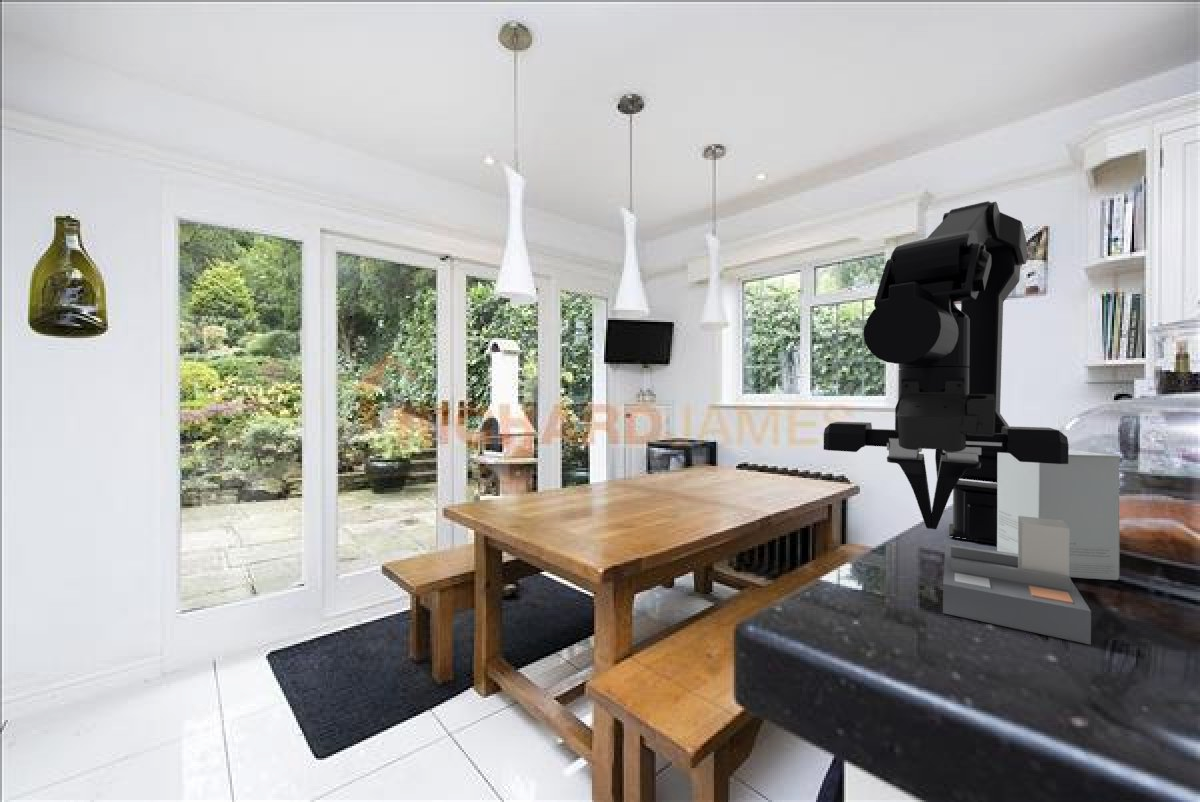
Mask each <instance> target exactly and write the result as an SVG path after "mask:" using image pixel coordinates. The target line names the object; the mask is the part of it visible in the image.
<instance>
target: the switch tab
mask: <svg viewBox="0 0 1200 802" xmlns="http://www.w3.org/2000/svg"><path fill="white" fill-rule="evenodd" d="M1069 536H1070V529H1069V527H1068V526H1067V525H1066V524H1065V523H1064V522H1063V521H1061V520H1052V519H1043V518H1034V517H1025V516H1018V568H1021V569H1027V570H1034V571H1040V572H1046V573H1053V574H1059V575H1065V576H1069Z"/></svg>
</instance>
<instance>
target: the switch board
mask: <svg viewBox="0 0 1200 802" xmlns="http://www.w3.org/2000/svg"><path fill="white" fill-rule="evenodd" d="M943 565H944V566H943V580H942V581H943V582H942V583H943V584H942V589H943V590H942V614H946V615H950V616H955V617H960V618H964V619H969V620H974V621H979V622H983V623H989V624H992V625H997V626H1000V627H1001V626H1002V627H1006V628H1007V627H1008V628H1011V629H1015V630H1020V631H1025V632H1030V633H1034V634H1040V635H1044V636H1048V637H1053V638H1058V639H1063V640H1066V641H1072V642H1076V643H1081V644H1082V643H1083V644H1086V645H1090V646H1091V645H1092V610H1091V609H1090V607H1089V605H1088V604H1087V602H1086V601H1085V599H1084V598H1083V596H1082V594H1081V593H1080V591H1079V590H1078V588H1077V587H1076V586H1075V584H1074V583H1073V580H1072V579H1071V578H1072V577H1069V576H1065V575H1059V574H1053V573H1046V572H1040V571H1034V570H1027V569H1021V568H1018V554H1014V553H1008V552H1001V551H997V550H993V549H986V548H979V547H972V546H971V547H970V546H965V545H959V544H958V545H957V544H952V543H945V545H944V564H943Z"/></svg>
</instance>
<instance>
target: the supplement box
mask: <svg viewBox="0 0 1200 802" xmlns="http://www.w3.org/2000/svg"><path fill="white" fill-rule="evenodd" d="M996 484H997V544H996V551H1001V552H1008V553H1014V554H1018V516H1025V517H1034V518H1043V519H1052V520H1061V521H1063V522H1064V523H1065V524H1066V525H1067V526H1068V527H1069V529H1070V536H1069V577H1070V578H1077V579H1096V580H1107V581H1108V580H1109V581H1110V580H1111V581H1118V580H1119V579H1120V456H1119V455H1116V454H1108V453H1099V452H1092V451H1086V450H1078V449H1070V448H1068V464H1050V463H1033V462H1020V461H1018V460H1017V459H1016V458H1015V457H1014V456H1012V455H1011V454H1010V453H998V455H997V483H996Z"/></svg>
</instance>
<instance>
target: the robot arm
mask: <svg viewBox="0 0 1200 802" xmlns="http://www.w3.org/2000/svg"><path fill="white" fill-rule="evenodd" d="M1027 247H1028V244H1027V236H1026V233H1025V230H1024V225H1023V222H1022V221H1021V220H1019V219H1017V218H1015V217H1012V216H1010V215H1008V214H1005V213H1003V212H1000V209H999V205H998V203H997V201H993V202H990V200H987V201H984V202H980V203H979V202H978V203H975V204H970V205H965V206H962V207H957V208H952V209H951V210H949V211H948V212H945V213H944V214H943V217H942V221H941V222H940V224H939V225H938V226H937V227H936V228H935V229H934V230H932V232H931V233H930V234H929V235H928V237H926V238H923V239H919V240H915V241H911V242H907V243H903V244H900V245H897V246H896V247H895V248H894V249H893V251H892V252H891V254H890V255H891V256H890V258H889V259H887V260H886V262H885V265H884V269H883V272H882V274H881V278H880V282H879V285H878V288H877V292H876V295H875V299H874V302H873V303H874V304H873V305H874V309H873V310H872V311H871V313H870V314H869V316H868V318H867V320H866V323H865V325H864V326H863V333H862V334H863V339H864V344H865V345H866V347H867V349H868V350H869V352H870V353H871V354H872V355H873V356H875V357H876V358H877V359H879V360H880V361H883V362H886V363H890V364H897V365H898V375H897V376H898V377H897V378H898V380H897V381H898V382H897V383H898V385H897V386H898V388H897V389H898V391H897V403H896V405H895V407H894V408H895V409H894V410H895V411H894V413H895V414H894V417H895V418H894V429H888V428H887V429H884V428H880V429H879V428H873V427H872V422H862V421H861V422H859V421H835V422H830V423H829V424H828V425H827V426H826V427H824V430H823V450H825V451H831V452H832V451H834V452H835V451H836V452H850V453H857V452H859V450H861V449H862V448H865V447H866V446H867V447H868V446H869V447H884V448H885V447H886V451H888V455H887V457H886V462H887V463H890V464H897V465H898V466H899V467H900V468H901V470H902V472H903V473H904V475H905V477H906V479H907V480H908V483H909V484H910V486H911V489H912V491H913V494H914V497H915V500H916V502H917V506H918V508H919V511H920V514H921V517H922V519H923V522H924V524H925V525H924V526H925V528H926V529H928V530H937V529H938V526H939V524H940V521H941V519H942V516H943V514H944V511H945V509H946V506H947V504H948V502H949V499H950V496H951V495H952V523H950V524H948V525H949V526H948V528H949V529H948V537H949V536H953V537H960V538H966V539H972V540H977V541H976V542H979V541H982V542H981V543H988V544H996V545H997V455H998V453H1010V454H1011V455H1012V456H1014V457H1015V458H1016V459H1017V460H1018V461H1020V462H1033V463H1050V464H1068V449H1070V448H1069V446H1070V445H1069V441H1068V436H1067V435H1066V434H1064V433H1063V432H1062V431H1060V430H1058V429H1055V428H1051V427H1042V426H1041V427H1040V426H1039V427H1038V426H1036V427H1035V426H1010V425H1009V424H1008V423H1007V421H1006V419H1005V418H1004V417H1003V415H1002V414H1001V396H1002V395H1001V389H1002V388H1001V387H1002V384H1001V383H1002V357H1003V356H1002V355H1003V354H1002V353H1003V324H1004V323H1003V319H1004V317H1003V316H1004V302H1005V301H1006V299H1007V298H1008V297H1009V296H1010V294H1011V293H1012V292H1013V290H1014V289H1015V288H1016V287H1017V285H1018V284H1019V283H1020V279H1021V277H1020V276H1021V265H1023V266H1024V265H1026V263H1027V260H1028V256H1027V255H1028V249H1027ZM955 302H960V309H959V308H958V307H957V306H956V303H955ZM923 449H924V450H925V449H926V450H935V452H934V453H935V456H934V457H935V471H936V484H935V490H934V496H933V502H932V503H931V496H930V491H929V490H930V489H929V482H928V475H927V469H926V460H925V454H924V453H922V451H923ZM972 540H971V541H972Z"/></svg>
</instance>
